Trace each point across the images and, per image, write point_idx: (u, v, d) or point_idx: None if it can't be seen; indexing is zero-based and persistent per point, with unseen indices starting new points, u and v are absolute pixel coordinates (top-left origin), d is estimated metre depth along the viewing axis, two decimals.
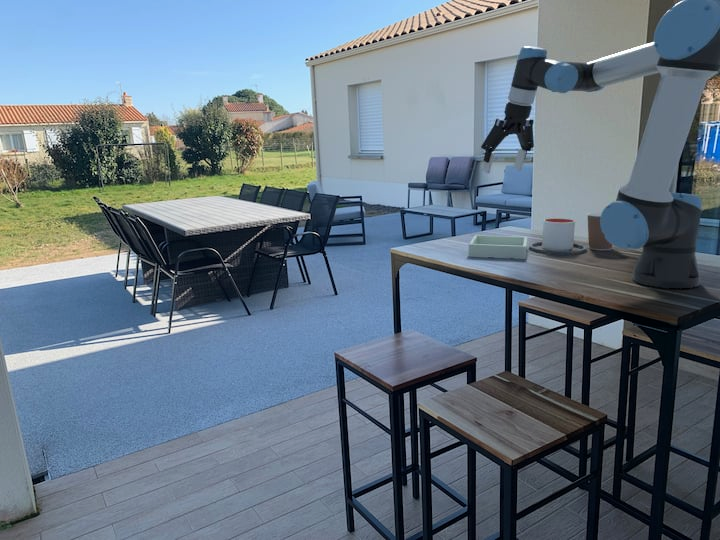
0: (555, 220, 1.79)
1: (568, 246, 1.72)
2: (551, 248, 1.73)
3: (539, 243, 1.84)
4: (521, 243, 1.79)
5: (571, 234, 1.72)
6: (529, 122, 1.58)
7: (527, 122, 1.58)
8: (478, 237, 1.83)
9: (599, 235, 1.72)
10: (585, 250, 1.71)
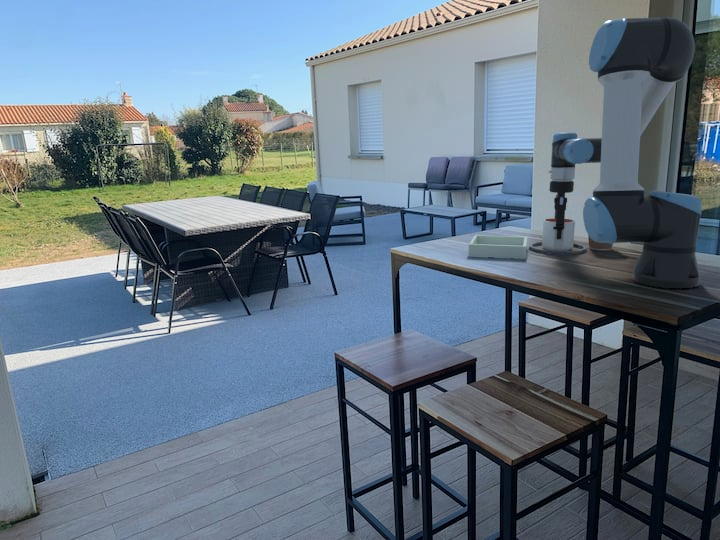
0: (555, 220, 1.79)
1: (568, 246, 1.72)
2: (551, 248, 1.73)
3: (539, 243, 1.84)
4: (521, 243, 1.79)
5: (571, 234, 1.72)
6: None
7: None
8: (478, 237, 1.83)
9: None
10: (585, 250, 1.71)
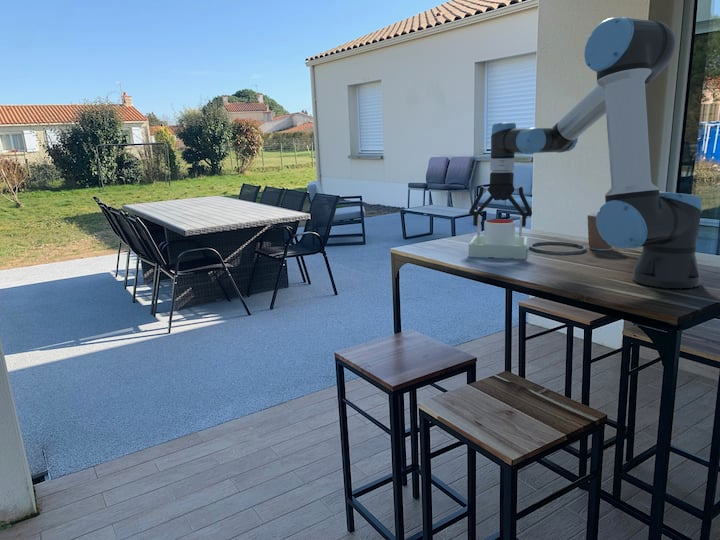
0: None
1: None
2: None
3: (539, 243, 1.84)
4: (521, 243, 1.79)
5: None
6: None
7: None
8: (478, 237, 1.83)
9: (599, 235, 1.72)
10: (585, 250, 1.71)
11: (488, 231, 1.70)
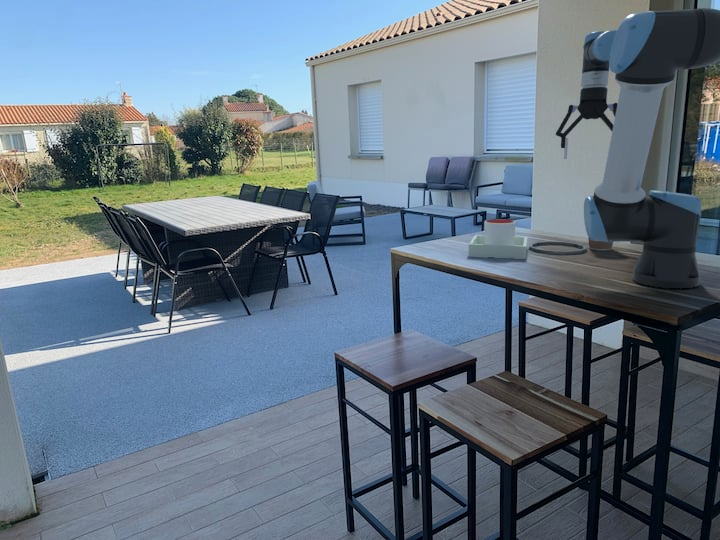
0: None
1: None
2: None
3: (539, 243, 1.84)
4: (521, 243, 1.79)
5: None
6: None
7: None
8: (478, 237, 1.83)
9: None
10: (585, 250, 1.71)
11: (488, 231, 1.70)
